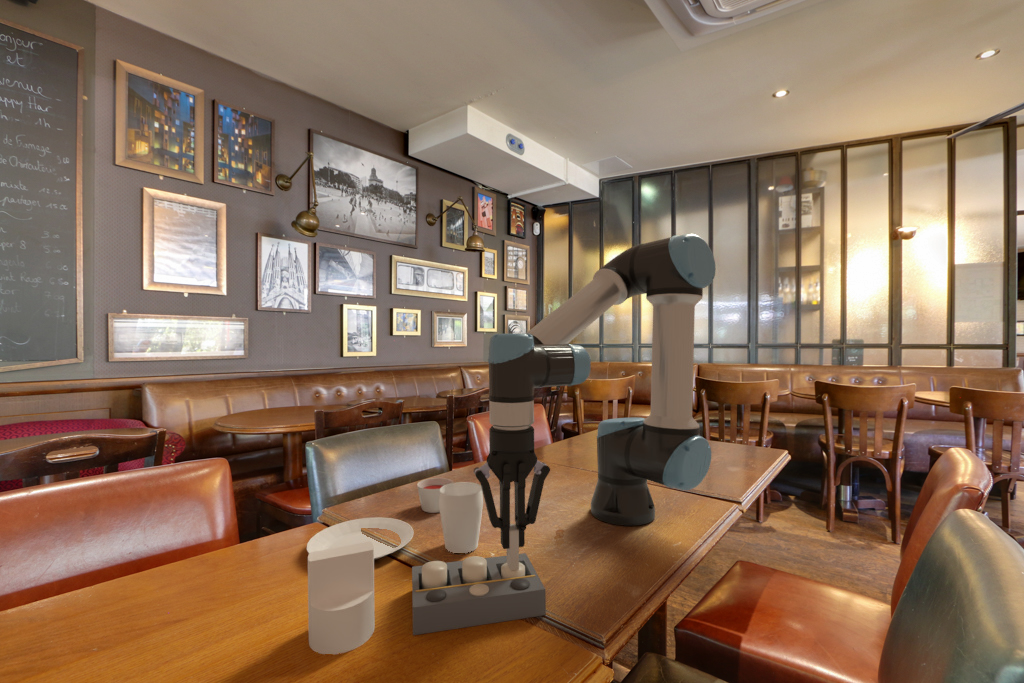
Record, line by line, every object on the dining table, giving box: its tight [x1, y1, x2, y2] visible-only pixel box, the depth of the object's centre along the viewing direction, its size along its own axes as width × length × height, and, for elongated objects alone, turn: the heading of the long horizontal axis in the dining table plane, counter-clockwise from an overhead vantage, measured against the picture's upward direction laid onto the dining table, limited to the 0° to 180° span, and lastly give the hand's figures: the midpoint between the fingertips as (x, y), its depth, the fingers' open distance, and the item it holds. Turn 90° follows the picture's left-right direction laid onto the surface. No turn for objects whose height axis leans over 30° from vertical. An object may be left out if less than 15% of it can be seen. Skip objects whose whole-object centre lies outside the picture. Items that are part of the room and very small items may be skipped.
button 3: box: [421, 560, 447, 589], centre depth 72 cm, size 4×4×4 cm
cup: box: [439, 481, 484, 554], centre depth 92 cm, size 9×9×12 cm
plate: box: [306, 516, 415, 561], centre depth 93 cm, size 21×21×2 cm
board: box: [411, 552, 547, 636], centre depth 73 cm, size 20×12×4 cm, turn 103°
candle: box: [416, 477, 454, 514], centre depth 114 cm, size 9×9×6 cm
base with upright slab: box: [307, 541, 376, 655], centre depth 65 cm, size 9×9×12 cm
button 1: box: [501, 562, 525, 579], centre depth 75 cm, size 4×4×4 cm
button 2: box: [462, 555, 487, 584], centre depth 74 cm, size 4×4×4 cm
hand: (512, 566), depth 75 cm, fingers closed
